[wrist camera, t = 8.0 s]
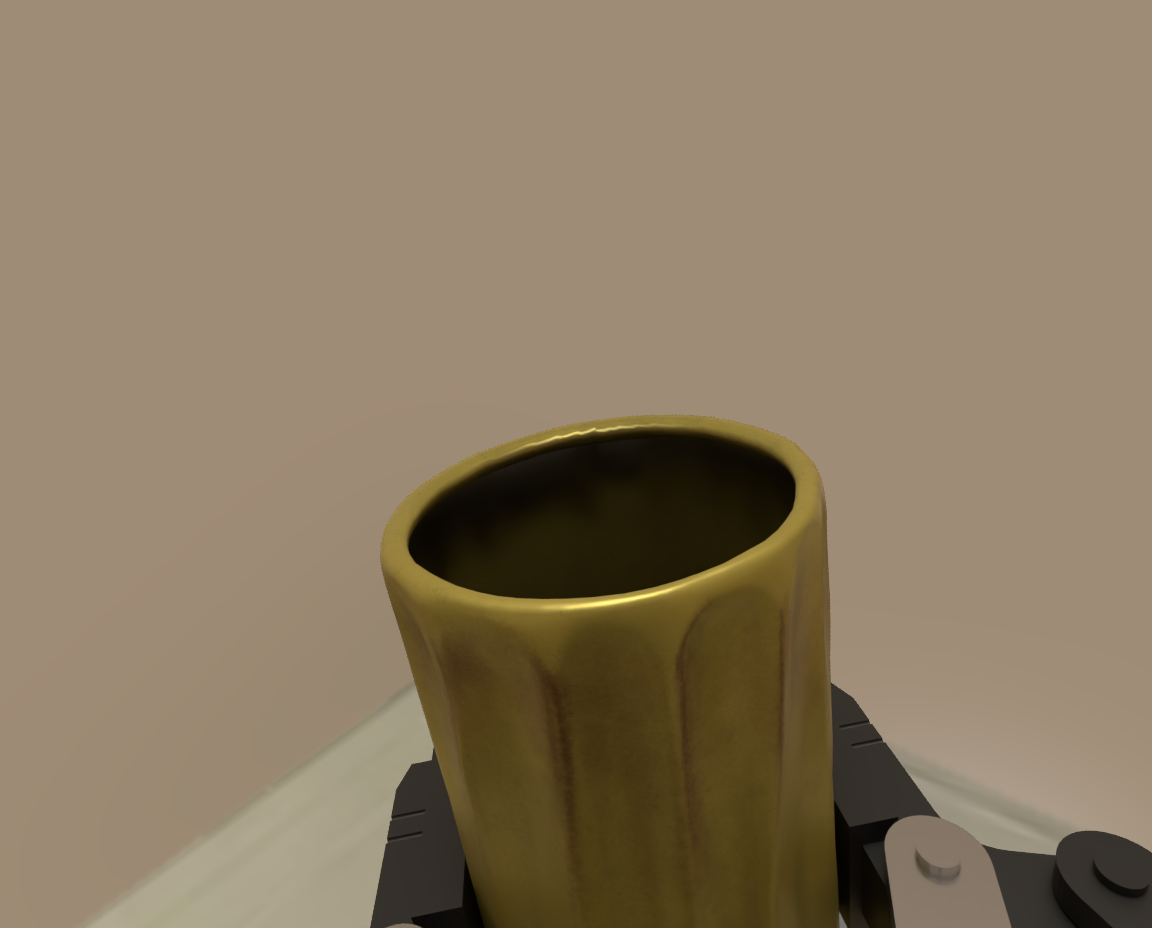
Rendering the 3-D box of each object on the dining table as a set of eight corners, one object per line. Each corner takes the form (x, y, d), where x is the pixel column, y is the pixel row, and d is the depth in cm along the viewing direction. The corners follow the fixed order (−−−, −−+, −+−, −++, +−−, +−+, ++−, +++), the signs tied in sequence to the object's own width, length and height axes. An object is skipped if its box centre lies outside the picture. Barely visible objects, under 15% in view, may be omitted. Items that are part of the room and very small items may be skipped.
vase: (806, 958, 16) (783, 383, 10) (930, 1391, 10) (1013, 596, 5) (554, 978, 16) (413, 435, 11) (535, 1401, 10) (223, 687, 5)
